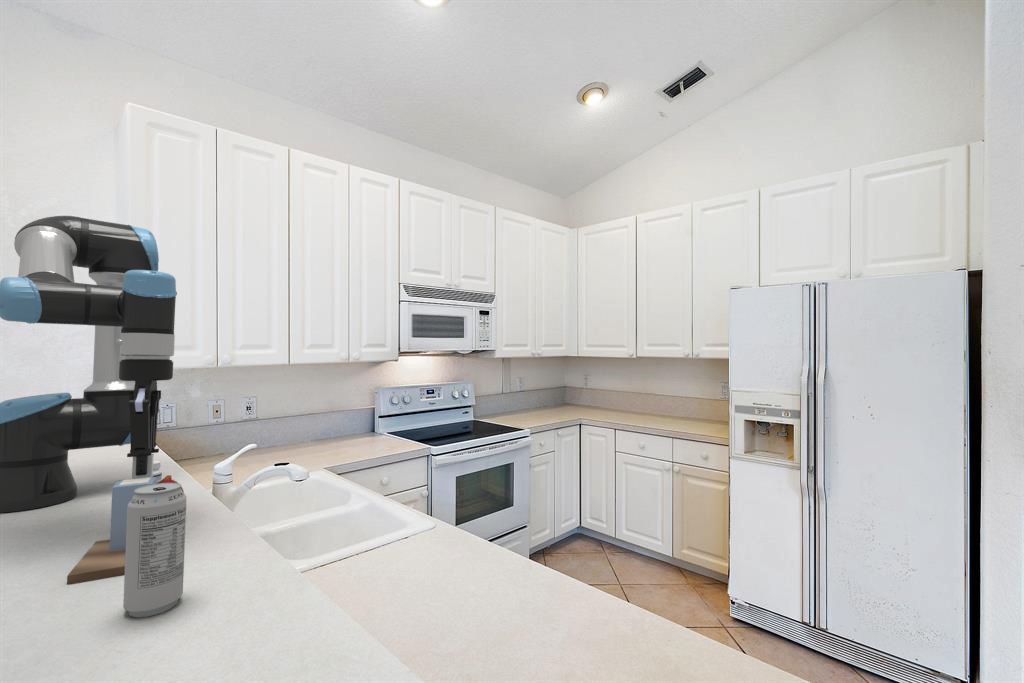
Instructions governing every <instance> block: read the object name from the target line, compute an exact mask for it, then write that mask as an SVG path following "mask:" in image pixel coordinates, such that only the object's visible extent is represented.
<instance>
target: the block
mask: <svg viewBox="0 0 1024 683" xmlns="http://www.w3.org/2000/svg"><path fill="white" fill-rule="evenodd" d="M152 484H157V477H149V478H138V479H132V478H129V479H120V480H118V481H117V482H116V483H115V484H114V485H113V486H112V488H111V504H110V505H111V507H110V509H111V510H110V529H109V530H110V531H109V534H110V535H109V539H110V551H109V552H113V551H119V550H126V530H127V506H128V504H129V502H130V501H131V499H132V498H133V496H134V495H135V493H134V491H135V490H136V489H137V488H140V487H143V486H147V485H152Z"/></svg>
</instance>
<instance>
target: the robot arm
mask: <svg viewBox="0 0 1024 683" xmlns="http://www.w3.org/2000/svg"><path fill="white" fill-rule="evenodd" d="M13 245H14V250H15V253H16V254H17V256H18V257H19V265H18V266H19V267H18V275H17V276H18V277H17V276H16V277H15V276H6V277H3V278H1V280H0V318H1V319H2V320H3V321H7V322H16V323H27V324H28V325H31V324H49V325H74V326H75V325H76V326H77V325H80V326H94V343H93V344H94V347H93V367H92V368H93V371H92V383H91V384H90V385H88V386H87V387H86V388H85V389H83V394H82V395H83V397H82V398H79V397H78V398H72V395H71V393H70V392H56V393H45V394H37V395H31V396H30V395H29V396H22V397H16V398H11V399H7V400H3V401H1V402H0V514H1V513H12V512H13V513H14V512H20V511H27V510H34V509H39V508H44V507H49V506H53V505H58V504H62V503H64V502H67V501H70V500H72V499H74V498H76V497H77V495H78V494H77V492H78V491H77V490H78V486H77V482H76V481H75V477H74V475H73V473H72V471H71V467H70V466H69V462H68V460H69V451H72V450H82V449H83V450H84V449H92V448H104V447H115V446H118V447H122V446H124V445H130V451H129V452H128V453H127V454H126V457H127V458H132V463H131V464H132V470H131V479H138V478H149V477H153V461H155V460H154V457H155V456H154V455H155V454H157V453H159V451H160V448H156V446H157V432H158V430H157V429H158V417H159V412H160V400H161V399H162V390H158V382H159V381H170V380H172V379H173V375H174V361H173V359H171V357H173V356H174V355H175V337H176V335H175V316H176V315H175V314H176V303H177V302H176V300H177V299H176V297H177V296H178V291H177V283H176V282H177V281H176V278H175V276H174V275H172V274H170V273H167V272H164V271H159V262H160V259H159V257H160V256H159V250H158V245H157V240H156V238H155V235H154V234H153V233H152V231H151V230H149V229H146V228H143V227H138V226H134V225H131V224H122V223H117V222H109V221H103V220H97V219H91V218H84V217H81V216H80V217H79V216H74V215H55V216H54V215H53V216H46V217H44V218H39V219H35V220H33V221H31V222H29V223H27V224H25V225H24V226H22V227H21V228H20V229H19V230H18V232H16V235H15V237H14V242H13ZM74 267H77V268H83V269H88V278H90V279H91V280H92V281H94V282H95V284H89V283H83V282H76V281H75V276H74Z"/></svg>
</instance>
